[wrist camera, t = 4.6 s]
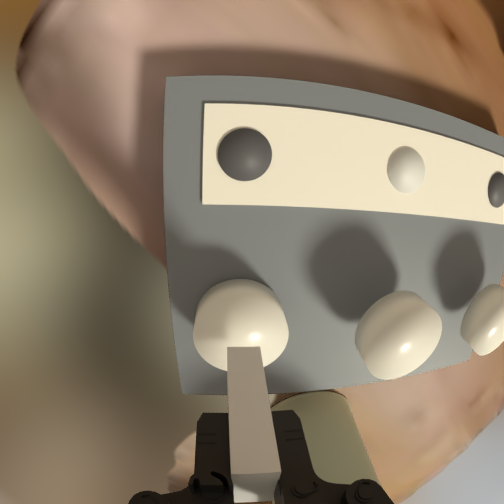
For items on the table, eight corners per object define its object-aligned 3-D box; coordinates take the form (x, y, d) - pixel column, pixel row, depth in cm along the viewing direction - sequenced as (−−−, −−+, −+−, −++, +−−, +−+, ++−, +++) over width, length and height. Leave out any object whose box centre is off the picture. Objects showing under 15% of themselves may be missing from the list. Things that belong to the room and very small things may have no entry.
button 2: (278, 349, 18) (283, 370, 16) (198, 350, 18) (196, 372, 16) (286, 278, 16) (293, 296, 14) (194, 277, 16) (190, 296, 14)
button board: (452, 343, 24) (469, 362, 21) (185, 366, 22) (181, 396, 19) (501, 144, 17) (528, 149, 14) (176, 86, 15) (165, 75, 12)
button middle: (411, 353, 17) (425, 372, 15) (346, 363, 17) (357, 385, 15) (434, 288, 15) (452, 304, 14) (365, 292, 15) (380, 311, 13)
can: (367, 398, 26) (411, 493, 15) (315, 447, 28) (339, 533, 17) (292, 381, 24) (324, 505, 12) (243, 435, 26) (253, 538, 15)
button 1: (489, 335, 18) (502, 348, 16) (451, 345, 18) (465, 361, 16) (510, 281, 16) (526, 293, 14) (474, 285, 16) (492, 298, 14)
